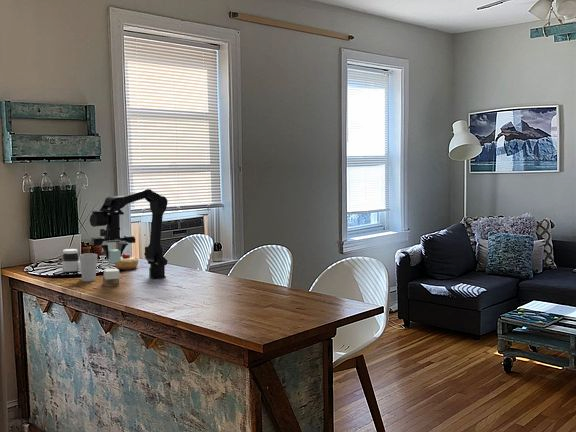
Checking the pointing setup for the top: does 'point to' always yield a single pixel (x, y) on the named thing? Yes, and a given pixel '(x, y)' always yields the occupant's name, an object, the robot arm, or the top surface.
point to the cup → (88, 266)
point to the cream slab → (111, 274)
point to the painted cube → (114, 255)
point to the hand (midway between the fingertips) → (113, 258)
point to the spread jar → (70, 261)
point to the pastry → (127, 262)
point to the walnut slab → (110, 282)
